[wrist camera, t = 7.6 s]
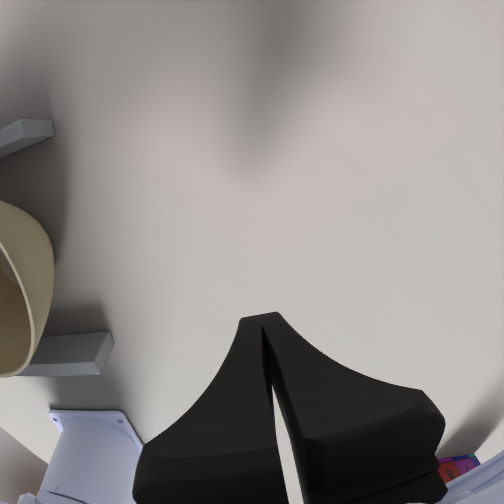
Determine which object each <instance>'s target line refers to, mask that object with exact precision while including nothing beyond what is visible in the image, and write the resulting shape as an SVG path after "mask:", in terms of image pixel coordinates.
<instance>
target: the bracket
mask: <svg viewBox="0 0 504 504" xmlns="http://www.w3.org/2000/svg"><path fill="white" fill-rule="evenodd" d="M52 136H55V134H54V127H53V120H45V119H19V120H17V121H15V122H13V123H11V124H9V125H7V126H5V127H3V128H1V129H0V158H2V157H5V156H7V155H9V154H11V153H13V152H16V151H18V150H20V149H23V148H25V147H27V146H30V145H32V144H35V143H37V142H40V141H42V140H45V139H47V138H50V137H52ZM113 344H114V341H113V338H112V336H111V333H110V331H101V332H91V333H82V334H72V335H61V336H50V337H41V338H40V341H39V343H38V346H37V348H36V350H35V352H34V354H33V356H32V358H31V360H30V362H29V364H28V366H27V367H26V368H25V369H24V370H23V371H22V372H21V373H19V374H17V375H15V376H79V375H100V374H101V371H102V369H103V367H104V364H105V362H106V360H107V358H108V355H109V353H110V351H111V349H112V347H113Z"/></svg>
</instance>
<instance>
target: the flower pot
mask: <svg viewBox="0 0 504 504" xmlns="http://www.w3.org/2000/svg"><path fill="white" fill-rule="evenodd" d="M54 277H55V268H54V254H53V249H52V245H51V242H50V239H49V237H48V235H47V233H46V231H45V230H44V228H43V227H42V226H41V224H40V223H39V222H38V221H37V220H36V219H34V218H33V217H32V216H31V215H29V214H28V213H26V212H25V211H23V210H22V209H20V208H18V207H16V206H14V205H11V204H9V203H6V202H3V201H0V377H11V376H15V375H17V374H19V373H21V372H22V371H23V370H24V369H25V368H26V367H27V366H28V364H29V362H30V360H31V358H32V356H33V354H34V352H35V350H36V348H37V346H38V343H39V341H40V338H41V336H42V333H43V330H44V327H45V324H46V321H47V318H48V314H49V310H50V306H51V302H52V296H53V289H54Z"/></svg>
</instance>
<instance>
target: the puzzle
mask: <svg viewBox="0 0 504 504" xmlns="http://www.w3.org/2000/svg"><path fill="white" fill-rule="evenodd" d="M437 460H438V461H439V463H440V467H439V469H437V470H438V472H439V474H440V475H441V477H442V479H443V481H444V483H445V484H446V483H448V482H450V481H452V480H454V479H456V478H457V477H459V476H461V475H463V474H465V473H467V472H469V471H470V470H472V469H474V468H476V467H477V466H479V465H481V464H480V462H479V461H478V459H477V457H476V456H475V454H470V455H464V456H458V457H451V458H444V459H437Z"/></svg>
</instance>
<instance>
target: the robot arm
mask: <svg viewBox="0 0 504 504" xmlns="http://www.w3.org/2000/svg"><path fill="white" fill-rule="evenodd" d="M272 386H273V389H274V392H275V395H276V398H277V401H278V404H279V407H280V410H281V413H282V416H283V419H284V422H285V425H286V428H287V431H288V434H289V438H290V442H291V446H292V451H293V455H294V460H295V464H296V469H297V474H298V478H299V483H300V488H301V492H302V497H303V502H304V504H504V450H503V451H501V452H500V453H498V454H497V455H495V456H494V457H492V458H491V459H489V460H487V461H486V462H484V463H482V464H481V465H479V466H477V467H476V468H474V469H472V470H470V471H469V472H467V473H465V474H463V475H461V476H459V477H457V478H456V479H454V480H452V481H450V482H448V483H446V484H445V483H444V481H443V479H442V477H441V475H440V474H439V472H438V470H437V469H439V467H440V463H439V461H438V460H437V458H436V456H435V455H434V454H435V452H436V450H437V447H438V445H439V443H440V441H441V438H442V436H443V433H444V429H445V425H446V424H445V419H444V417H443V415H442V414H441V412H440V411H439V410H438V408H437V407H436V405H435V404H434V403H433V402H432V401H431V399H430V398H429V397H428V396H427V395H426V394H425V393H424V392H423V391H422V390H418V389H413V388H408V387H403V386H398V385H393V384H390V383H386V382H383V381H380V380H377V379H373V378H371V377H368V376H365V375H363V374H360V373H358V372H356V371H354V370H351V369H349V368H347V367H345V366H343V365H341V364H339V363H338V362H336V361H334V360H332V359H331V358H329V357H328V356H326V355H325V354H323V353H322V352H320V351H319V350H318V349H316V348H315V347H314V346H312V345H311V344H310V343H309V342H308V341H306V340H305V339H304V338H303V337H302V336H301V335H300V334H298V333H297V332H296V331H295V330H294V329H293V328H292V327H291V326H290V325H289V324H288V323H287V322H286V320H285V319H284V318H283V317H282V316H281V314H280V313H278V312H271V313H266V314H261V315H255V316H249V317H244V318H241V320H240V321H239V325H238V329H237V332H236V335H235V338H234V341H233V343H232V345H231V348H230V350H229V352H228V354H227V356H226V358H225V360H224V362H223V364H222V366H221V367H220V369H219V371H218V373H217V374H216V376H215V377H214V379H213V380H212V382H211V383H210V385H209V386H208V387H207V389H206V390H205V391H204V393H203V394H202V395H201V396H200V397H199V399H198V400H197V401H196V402H195V403H194V404H193V406H192V407H191V408H190V409H189V410H188V411H187V412H186V413H185V414H184V415H182V416H181V417H180V418H179V419H178V420H177V421H176V422H175V423H174V424H172V425H171V426H170V427H169V428H167V429H166V430H165V431H163V432H162V433H161V434H159V435H158V436H156V437H155V438H154V439H152V440H151V441H149V442H148V443H146V444H145V445H144V446H143V444H142V443H141V441H140V440H139V438H138V436H137V435H136V433H135V432H134V430H133V428H132V427H131V425H130V423H129V422H128V420H127V418H126V417H125V415H124V414H123V413H122V412H120V411H69V410H49V412H48V415H49V417H50V418H51V420H52V421H53V422H54V424H55V425H56V427H57V428H58V429H59V431H60V432H61V435H60V438H59V440H58V443H57V445H56V448H55V450H54V453H53V455H52V458H51V461H50V463H49V466H48V469H47V471H46V474H45V477H44V479H43V482H42V485H41V488H40V491H39V492H38V494H37V496H36V497H35V496H34V495H32V494H30V493H27V494H24V495H20V498H19V500H18V503H17V504H289V501H288V496H287V491H286V486H285V481H284V476H283V471H282V466H281V461H280V455H279V450H278V445H277V438H276V429H275V417H274V404H273V392H272ZM0 504H9V503H6V502H3V501H1V500H0Z"/></svg>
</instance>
